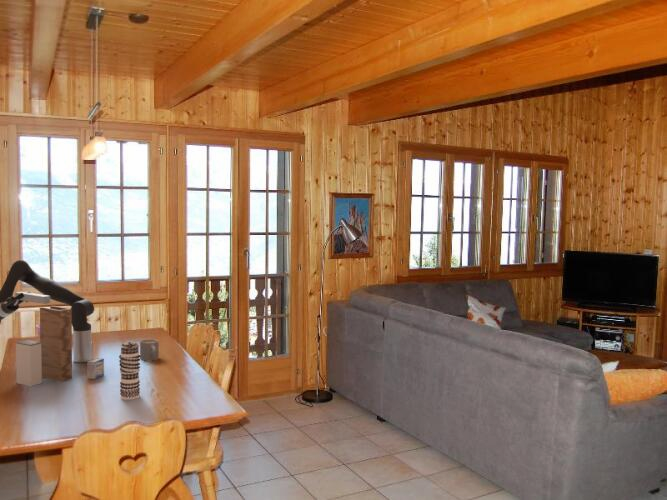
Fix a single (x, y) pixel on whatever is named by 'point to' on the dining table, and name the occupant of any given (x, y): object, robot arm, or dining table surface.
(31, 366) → the block
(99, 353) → the dining table surface
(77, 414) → the dining table surface
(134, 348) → the decorative candle
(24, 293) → the bar
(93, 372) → the medicine box
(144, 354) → the coffee mug
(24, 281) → the robot arm
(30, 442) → the dining table surface
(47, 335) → the stand
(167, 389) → the dining table surface
